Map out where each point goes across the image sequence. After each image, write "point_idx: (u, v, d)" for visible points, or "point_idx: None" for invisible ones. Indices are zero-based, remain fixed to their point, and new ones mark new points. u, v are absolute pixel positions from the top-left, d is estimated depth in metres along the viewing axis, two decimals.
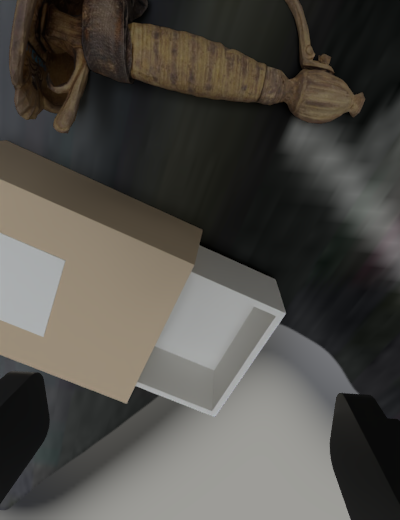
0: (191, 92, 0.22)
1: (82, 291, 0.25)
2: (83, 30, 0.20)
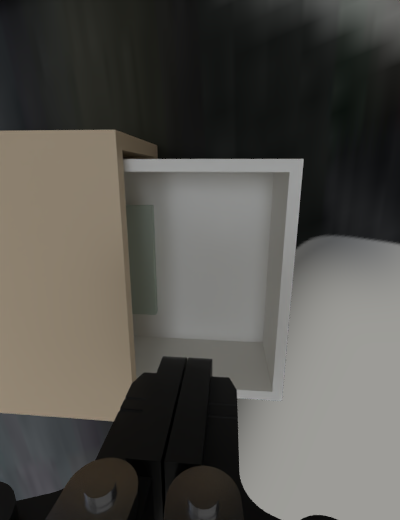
0: None
1: None
2: None
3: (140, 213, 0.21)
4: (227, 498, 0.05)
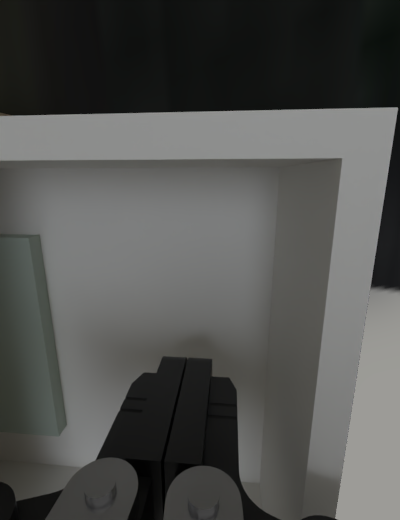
0: None
1: None
2: None
3: (8, 253, 0.10)
4: (227, 498, 0.05)
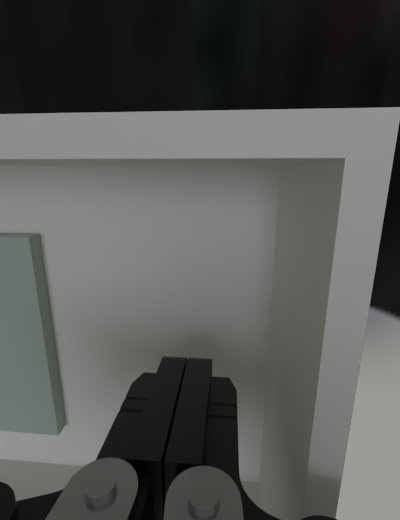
0: None
1: None
2: None
3: (8, 252, 0.10)
4: (227, 498, 0.05)
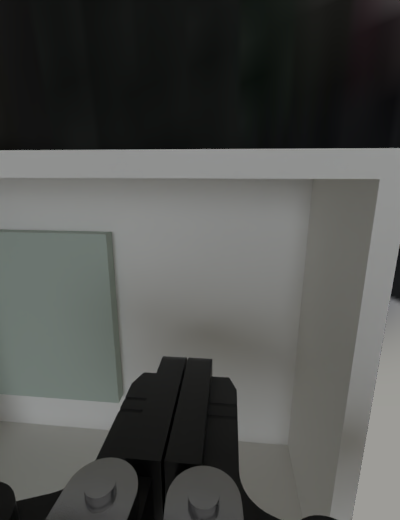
0: None
1: None
2: None
3: (87, 246, 0.13)
4: (227, 498, 0.05)
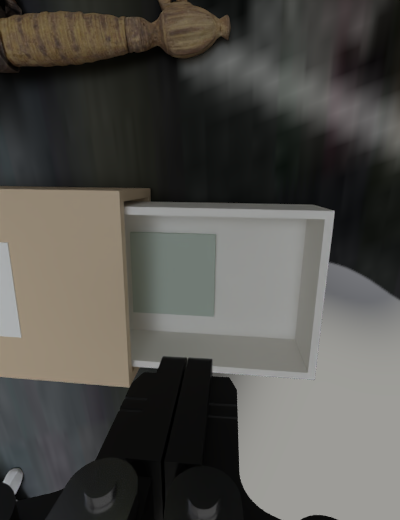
0: (65, 59, 0.24)
1: (35, 269, 0.24)
2: None
3: (206, 240, 0.28)
4: (227, 498, 0.05)
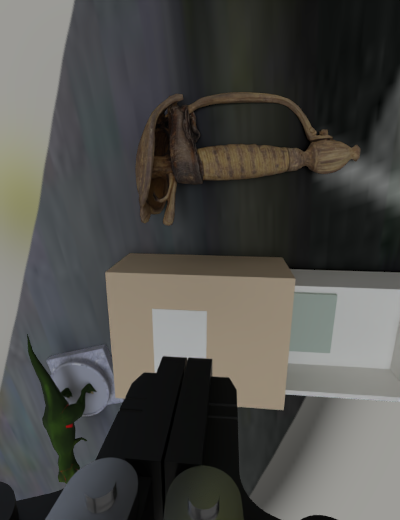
0: (242, 177, 0.34)
1: (224, 329, 0.34)
2: (172, 162, 0.32)
3: (330, 299, 0.38)
4: (227, 498, 0.05)
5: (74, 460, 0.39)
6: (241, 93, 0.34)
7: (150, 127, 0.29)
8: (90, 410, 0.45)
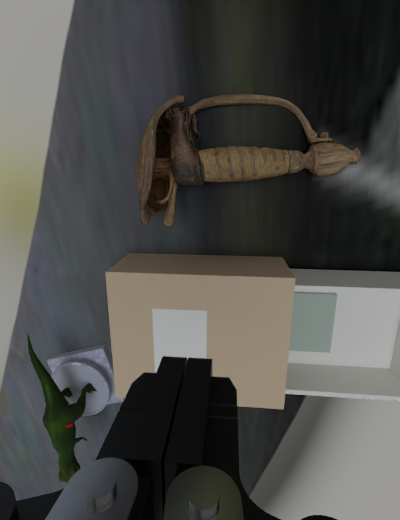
0: (243, 179, 0.34)
1: (224, 328, 0.34)
2: (172, 164, 0.32)
3: (330, 298, 0.38)
4: (227, 498, 0.05)
5: (74, 460, 0.39)
6: (242, 95, 0.34)
7: (151, 129, 0.29)
8: (90, 409, 0.45)
